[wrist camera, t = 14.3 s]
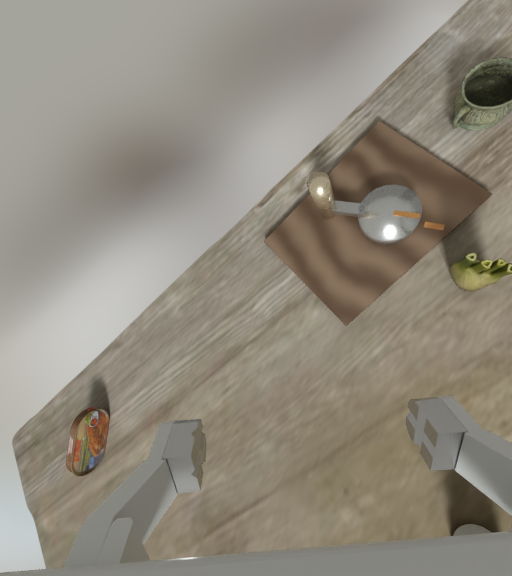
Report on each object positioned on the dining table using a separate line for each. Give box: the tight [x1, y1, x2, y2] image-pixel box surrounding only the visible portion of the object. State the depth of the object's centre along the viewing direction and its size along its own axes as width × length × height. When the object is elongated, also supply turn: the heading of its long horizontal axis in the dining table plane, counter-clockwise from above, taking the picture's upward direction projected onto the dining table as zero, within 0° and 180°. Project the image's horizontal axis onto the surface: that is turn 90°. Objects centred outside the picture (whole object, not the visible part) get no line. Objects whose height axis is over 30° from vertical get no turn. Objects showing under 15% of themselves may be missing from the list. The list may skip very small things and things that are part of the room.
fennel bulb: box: [450, 253, 512, 291], centre depth 42 cm, size 6×5×12 cm
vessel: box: [452, 58, 512, 130], centre depth 47 cm, size 12×9×6 cm
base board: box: [264, 121, 492, 326], centre depth 54 cm, size 32×24×2 cm
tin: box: [66, 407, 109, 476], centre depth 68 cm, size 15×3×8 cm, turn 174°
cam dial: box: [307, 172, 422, 245], centre depth 48 cm, size 18×10×12 cm, turn 74°
